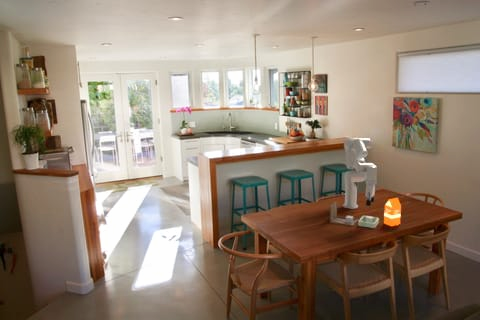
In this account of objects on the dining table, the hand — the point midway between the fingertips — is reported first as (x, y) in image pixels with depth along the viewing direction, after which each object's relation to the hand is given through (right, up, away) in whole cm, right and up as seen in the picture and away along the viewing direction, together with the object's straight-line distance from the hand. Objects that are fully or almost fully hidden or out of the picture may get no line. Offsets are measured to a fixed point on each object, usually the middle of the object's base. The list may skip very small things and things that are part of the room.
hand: (369, 203), depth 297 cm
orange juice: (+17, -16, +2) cm, 23 cm away
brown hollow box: (-18, -15, +7) cm, 24 cm away
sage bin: (-1, -16, +1) cm, 16 cm away
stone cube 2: (-14, -15, +5) cm, 21 cm away
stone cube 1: (+1, -15, +3) cm, 15 cm away
